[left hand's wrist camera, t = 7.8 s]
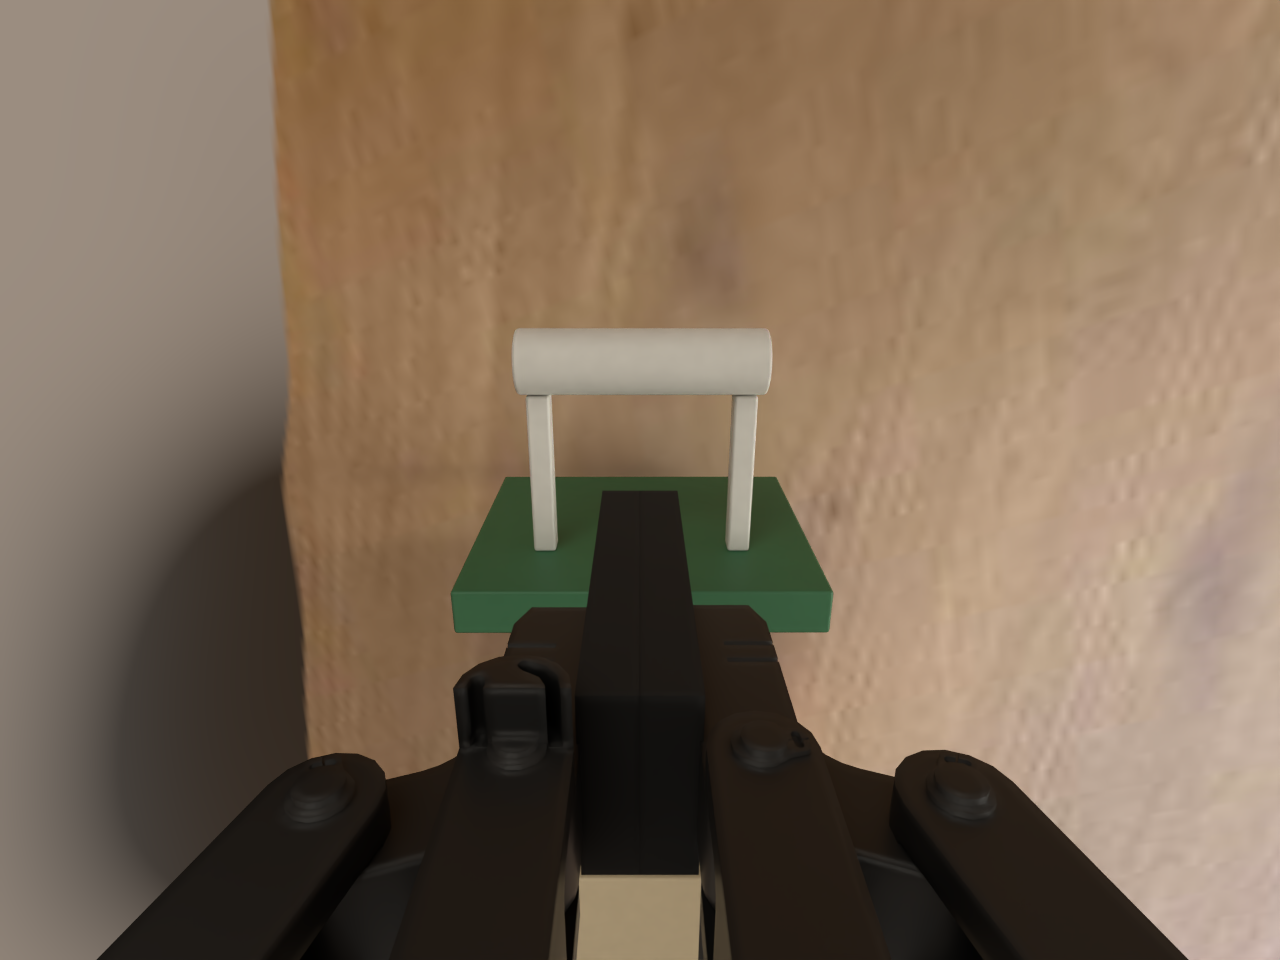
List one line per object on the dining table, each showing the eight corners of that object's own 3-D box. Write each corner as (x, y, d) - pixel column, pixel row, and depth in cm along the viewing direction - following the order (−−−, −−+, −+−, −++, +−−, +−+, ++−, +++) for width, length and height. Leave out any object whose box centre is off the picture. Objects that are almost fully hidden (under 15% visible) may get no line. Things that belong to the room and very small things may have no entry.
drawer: (492, 299, 23) (422, 347, 16) (789, 299, 23) (861, 347, 16) (532, 853, 32) (499, 1055, 24) (748, 853, 32) (782, 1054, 24)
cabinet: (508, 660, 29) (447, 879, 20) (772, 660, 29) (836, 878, 20) (533, 982, 36) (496, 1256, 27) (747, 981, 36) (785, 1255, 27)
